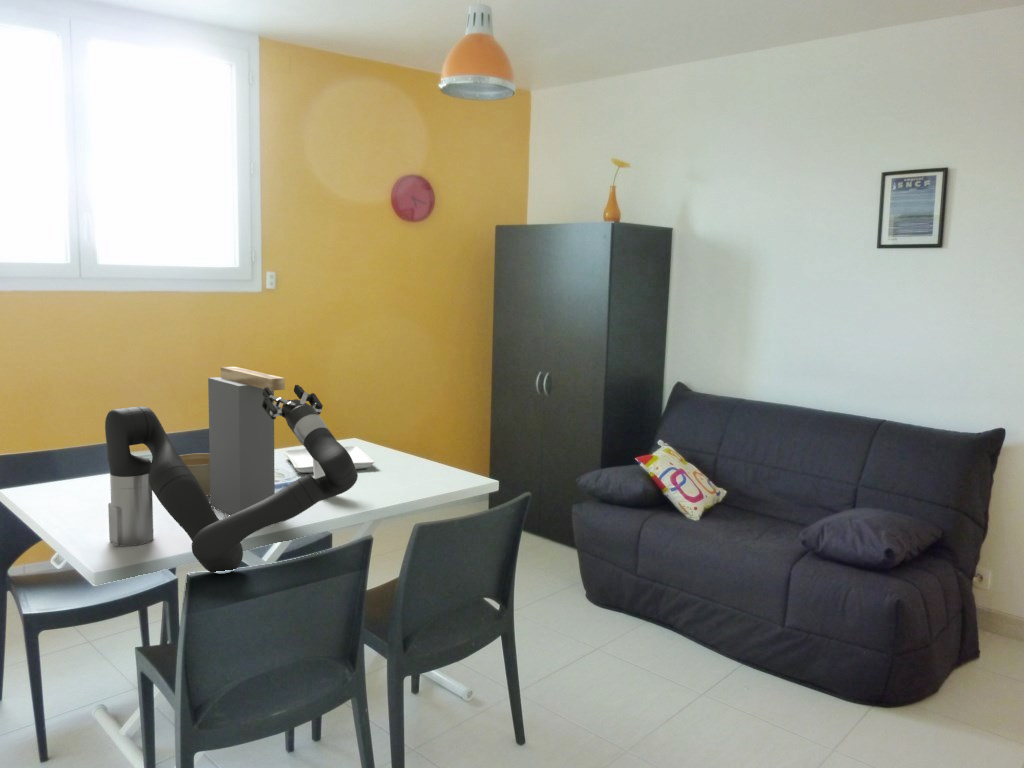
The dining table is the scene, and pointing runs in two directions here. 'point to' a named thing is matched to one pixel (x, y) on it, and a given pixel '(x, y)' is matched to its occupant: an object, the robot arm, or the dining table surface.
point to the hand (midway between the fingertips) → (280, 388)
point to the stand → (239, 446)
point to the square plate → (305, 461)
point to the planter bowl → (199, 469)
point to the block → (253, 378)
